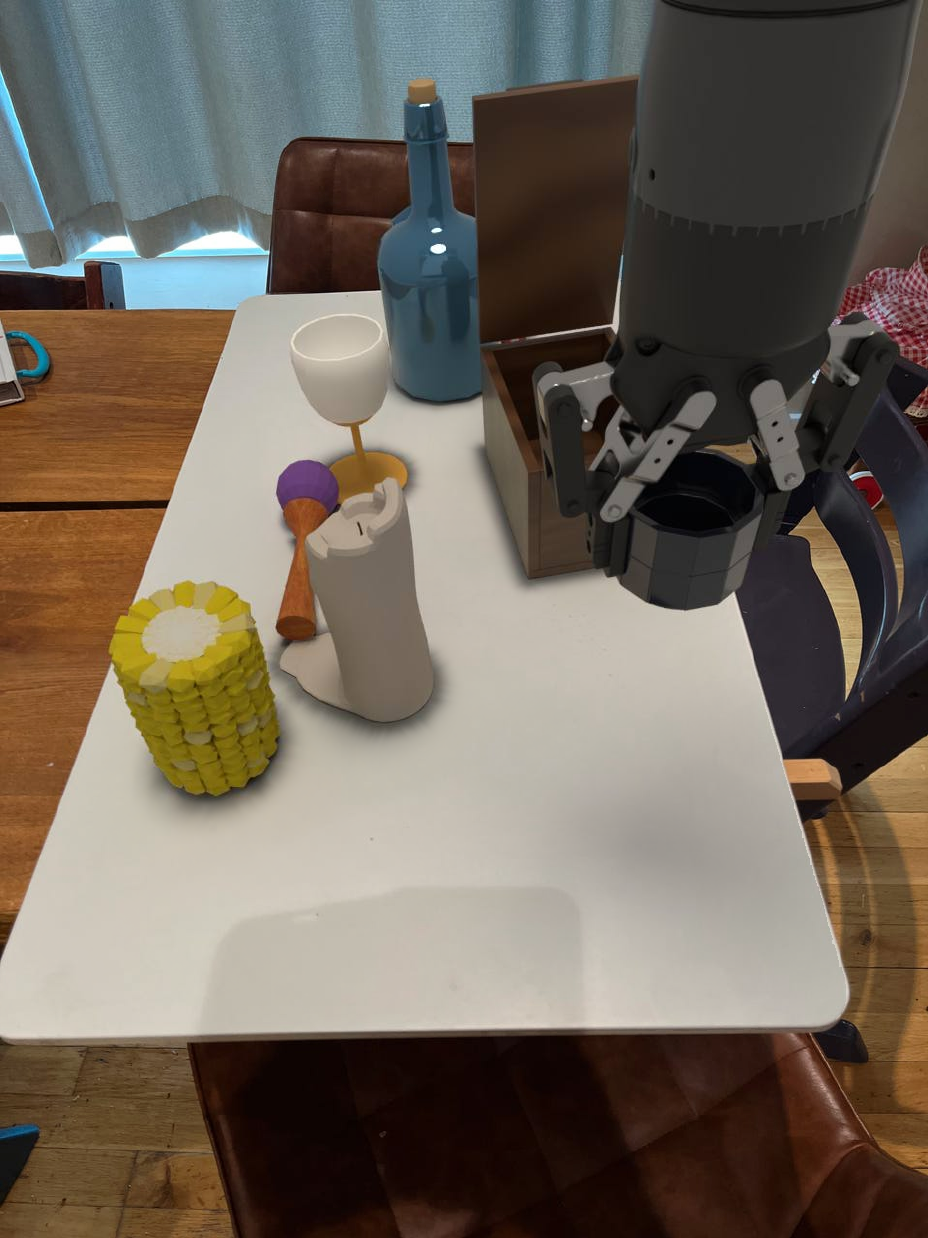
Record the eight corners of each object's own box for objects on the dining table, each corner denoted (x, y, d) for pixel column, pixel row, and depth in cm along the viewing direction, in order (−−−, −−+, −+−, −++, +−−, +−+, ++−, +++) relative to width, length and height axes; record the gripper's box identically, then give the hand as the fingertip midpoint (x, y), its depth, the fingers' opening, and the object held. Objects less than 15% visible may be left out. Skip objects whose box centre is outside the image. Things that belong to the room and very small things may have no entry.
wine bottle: (521, 387, 91) (517, 85, 69) (414, 418, 88) (375, 114, 66) (474, 335, 100) (458, 52, 78) (376, 361, 97) (330, 76, 75)
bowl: (711, 517, 40) (729, 436, 37) (764, 603, 36) (790, 521, 32) (594, 538, 40) (600, 458, 36) (634, 627, 36) (646, 548, 32)
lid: (646, 77, 58) (624, 48, 61) (473, 99, 57) (460, 69, 60) (612, 324, 75) (597, 292, 78) (480, 344, 74) (469, 311, 77)
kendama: (246, 614, 64) (268, 455, 76) (277, 655, 68) (293, 499, 81) (315, 598, 63) (326, 440, 75) (342, 641, 67) (348, 485, 80)
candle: (307, 619, 69) (245, 426, 54) (448, 666, 64) (424, 470, 49) (260, 679, 65) (179, 489, 50) (408, 734, 60) (367, 542, 45)
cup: (425, 470, 82) (408, 326, 70) (369, 519, 77) (340, 373, 65) (360, 444, 86) (333, 302, 74) (303, 489, 81) (264, 346, 69)
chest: (667, 555, 71) (686, 446, 62) (528, 579, 70) (528, 472, 62) (602, 430, 85) (611, 326, 76) (484, 449, 84) (479, 346, 75)
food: (169, 728, 64) (293, 708, 65) (148, 841, 54) (294, 814, 56) (109, 568, 55) (254, 548, 56) (73, 669, 46) (248, 642, 47)
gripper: (561, 250, 22) (552, 639, 34) (1043, 176, 23) (862, 579, 35) (502, 158, 27) (513, 527, 39) (899, 101, 28) (786, 478, 40)
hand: (679, 551), depth 37 cm, fingers closed on bowl, 6 cm apart
